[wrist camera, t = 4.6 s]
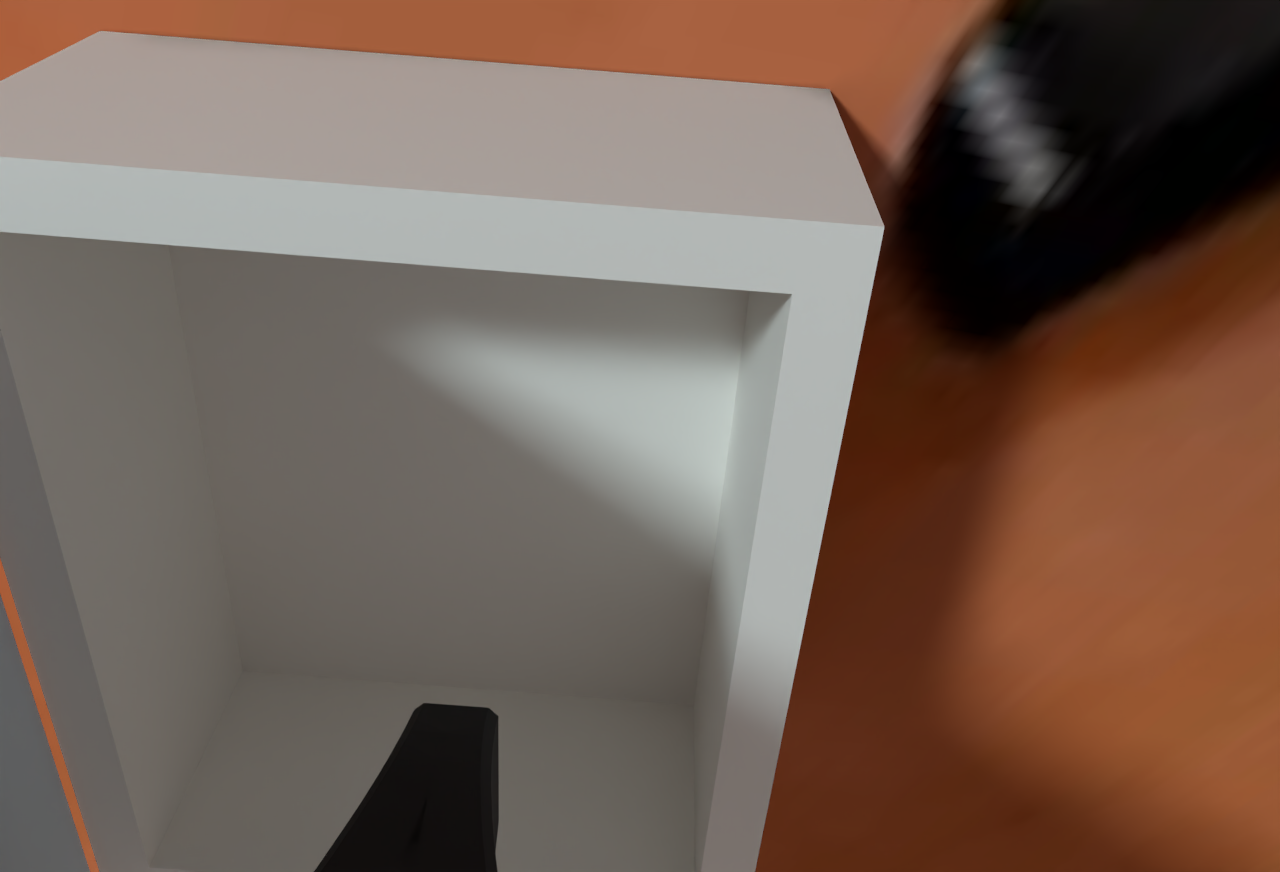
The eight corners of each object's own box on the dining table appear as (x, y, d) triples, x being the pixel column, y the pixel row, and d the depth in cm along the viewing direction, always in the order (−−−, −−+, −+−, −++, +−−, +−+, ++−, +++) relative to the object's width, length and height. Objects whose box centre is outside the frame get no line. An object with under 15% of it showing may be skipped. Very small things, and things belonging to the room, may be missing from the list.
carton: (829, 89, 15) (883, 227, 11) (730, 707, 22) (740, 943, 17) (100, 31, 15) (-131, 146, 11) (221, 667, 21) (106, 895, 17)
